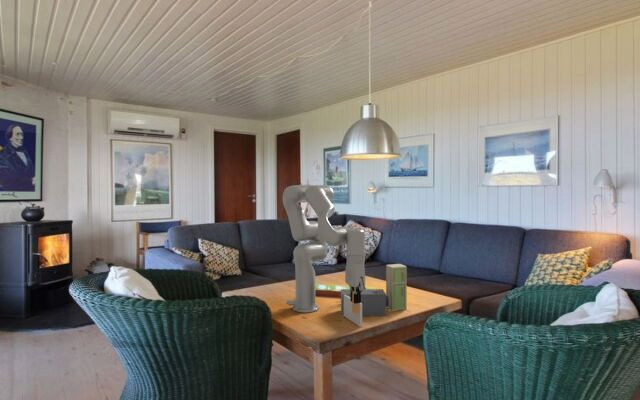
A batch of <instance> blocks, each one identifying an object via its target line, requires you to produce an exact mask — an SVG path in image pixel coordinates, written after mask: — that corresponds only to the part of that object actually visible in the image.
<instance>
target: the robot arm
mask: <svg viewBox="0 0 640 400" xmlns="http://www.w3.org/2000/svg"><path fill="white" fill-rule="evenodd" d="M334 197H335V194H334V190H333V188H332V187H330V186H329V185H325V184H323V185H322V184H321V185H320V184H317V185H313V184H310V185H308V184H307V185H305V184H304V185H303V184H298V185H297V184H295V185H290V186H288V187H286V188H285V189H284V191H283V194H282V203H283V207H284V209H285V211H286V214H287V218H288V223H289V227H290V231H291V236H292V238H293V240H294V241H296V242H305V243H300V244H298V245H296V246H295V247H294V249H293V252H292V253H293V254H292V255H293V259H294V265H295V267H294V269H295V298H294V299H287V300H286V301H285V302H286V303H285V304H286V305H288V306H292V310H293V311H295V312H296V313H306V314H308V313H312V312H317V311H318V310H319V305H318V304H317V303H316V271H315V268H314V266H313V263H316V262H317V263H318V262H322V261H324V260H325V259H326V258H327V257H328V247H327V245H328V246H331V247H337V246H344V245H346V263H345V264H346V265H345V271H344V272H345V277H344V279H345V280H344V281H345V284H347V285H348V286H349V289H350V301H351V302H352V291H354V293H355V294H354V304H356V303H361V293H362V291H363V290H364V286H365V287H366V269H365V262H366V260H365V257H366V253H365V251H366V250H365V237H366V235H365V230H363V229H360V228H352V227H350V226H342V227H332V225H331V223H330V221H329V220H328V219H329V218H330V217H331V216H332V215H333V214H334V213H335V206H334V204H333V203H332V201H333V200H334ZM299 203H301V204H302V203H308V204H309V205H310V207H311V208H312V210H313V212H314V213H315V214H316V216H317V221H315V220H307V216H306V212H305V211H304V208H303V207H302V206H301V205H300V204H299ZM306 241H310V242H306ZM358 285H359V286H358ZM357 288H358V289H357Z"/></svg>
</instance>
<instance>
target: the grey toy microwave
mask: <svg viewBox="0 0 640 400" xmlns="http://www.w3.org/2000/svg"><path fill="white" fill-rule="evenodd" d="M344 295H347V296H349V297H350V288H349V289H347V288H345V289H343V288H341V289H340V311H341V316H342V317H345V316H344ZM361 303H362V317H386V316H387V307H388V304H389V301H388V296H386V291H385V290H384V288H379V289H378V288H366V289H364V290H363V291H362V293H361Z"/></svg>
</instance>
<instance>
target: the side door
mask: <svg viewBox="0 0 640 400" xmlns="http://www.w3.org/2000/svg"><path fill="white" fill-rule="evenodd" d="M354 294H355V293H354V291H352V302H351V301H350V297H349V296H347V295H344V316H343V317H345V318H346V319H348V320H350V321H351V322H352V323H354V324H356V325H357V326H358V327H362V326H363V316H362V303H356V304H354Z"/></svg>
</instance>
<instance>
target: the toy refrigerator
mask: <svg viewBox="0 0 640 400" xmlns="http://www.w3.org/2000/svg"><path fill="white" fill-rule="evenodd" d="M407 269H408V268H407V265H404V264H402V263H393V264H392V263H391V264H386V266H385V280H386V281H385V284H386V285H385V293H386V296H388V301H389V304H388V307H386V309H388V310H389V311H392V312H394V311H395V312H396V311H404V310H407V305H408V304H407V300H408V299H407V297H408V296H407V293H408V292H407V289H408V288H407V285H408V284H407V281H408V280H407V278H408V277H407V276H408V273H407V271H408V270H407Z"/></svg>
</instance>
